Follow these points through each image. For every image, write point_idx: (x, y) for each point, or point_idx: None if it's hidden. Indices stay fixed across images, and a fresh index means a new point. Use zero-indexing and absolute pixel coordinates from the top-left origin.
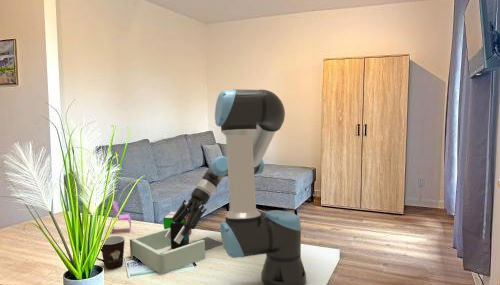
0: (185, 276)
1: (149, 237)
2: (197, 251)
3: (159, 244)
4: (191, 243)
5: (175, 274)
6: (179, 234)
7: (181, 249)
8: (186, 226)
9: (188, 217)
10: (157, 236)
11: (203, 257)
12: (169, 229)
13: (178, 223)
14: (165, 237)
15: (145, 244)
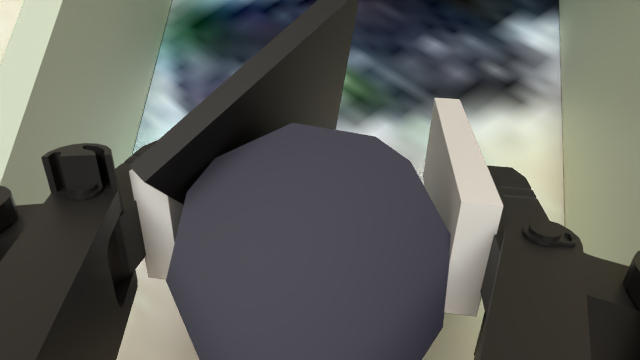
0: (12, 26)
1: (636, 31)
2: None
3: (583, 193)
4: (10, 146)
5: None
6: None
7: (30, 9)
8: (76, 182)
9: (45, 328)
10: (633, 138)
11: None
12: (471, 138)
13: (226, 97)
14: (616, 260)
15: (597, 27)
